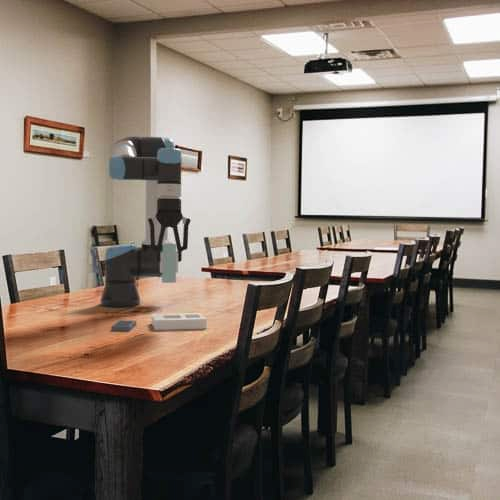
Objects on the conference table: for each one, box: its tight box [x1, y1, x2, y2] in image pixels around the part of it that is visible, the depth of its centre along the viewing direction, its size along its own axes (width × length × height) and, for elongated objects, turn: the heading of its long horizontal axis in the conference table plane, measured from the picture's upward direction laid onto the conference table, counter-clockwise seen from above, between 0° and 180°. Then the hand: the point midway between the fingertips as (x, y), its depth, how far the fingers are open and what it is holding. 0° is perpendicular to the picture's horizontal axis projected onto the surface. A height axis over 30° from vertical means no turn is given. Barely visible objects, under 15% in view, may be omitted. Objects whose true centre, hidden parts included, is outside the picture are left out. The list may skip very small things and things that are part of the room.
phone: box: [111, 319, 137, 332], centre depth 202 cm, size 10×6×2 cm, turn 178°
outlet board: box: [150, 312, 208, 331], centre depth 207 cm, size 12×16×3 cm
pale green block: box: [161, 242, 177, 284], centre depth 205 cm, size 4×4×12 cm
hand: (168, 272), depth 205 cm, fingers closed on pale green block, 4 cm apart
